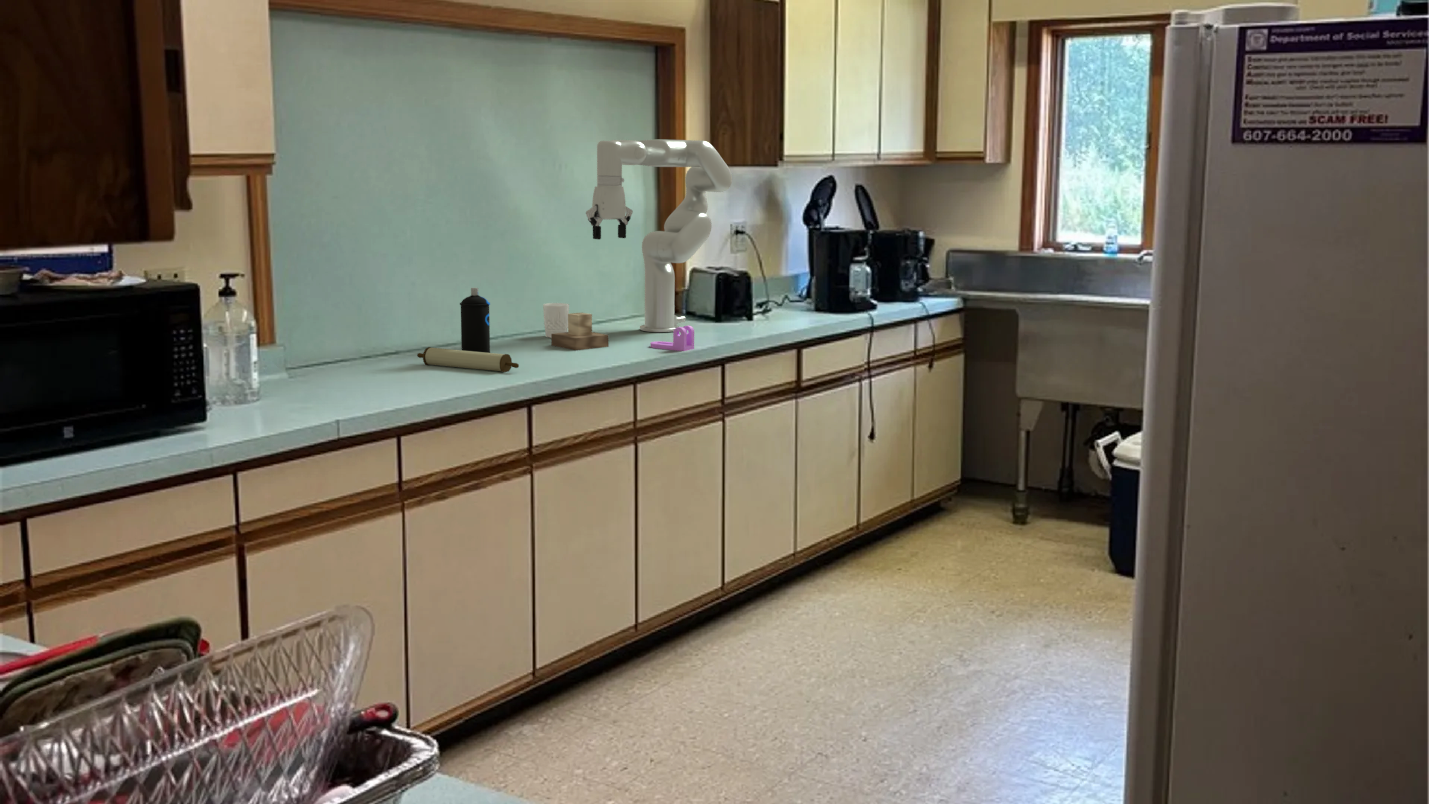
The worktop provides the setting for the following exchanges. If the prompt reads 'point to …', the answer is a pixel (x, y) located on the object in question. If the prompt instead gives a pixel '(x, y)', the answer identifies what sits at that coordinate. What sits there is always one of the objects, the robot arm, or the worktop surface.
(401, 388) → the worktop surface
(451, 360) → the rolling pin
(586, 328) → the maple block
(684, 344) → the bracket
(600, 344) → the base block
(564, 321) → the white cup
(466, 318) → the aerosol can
